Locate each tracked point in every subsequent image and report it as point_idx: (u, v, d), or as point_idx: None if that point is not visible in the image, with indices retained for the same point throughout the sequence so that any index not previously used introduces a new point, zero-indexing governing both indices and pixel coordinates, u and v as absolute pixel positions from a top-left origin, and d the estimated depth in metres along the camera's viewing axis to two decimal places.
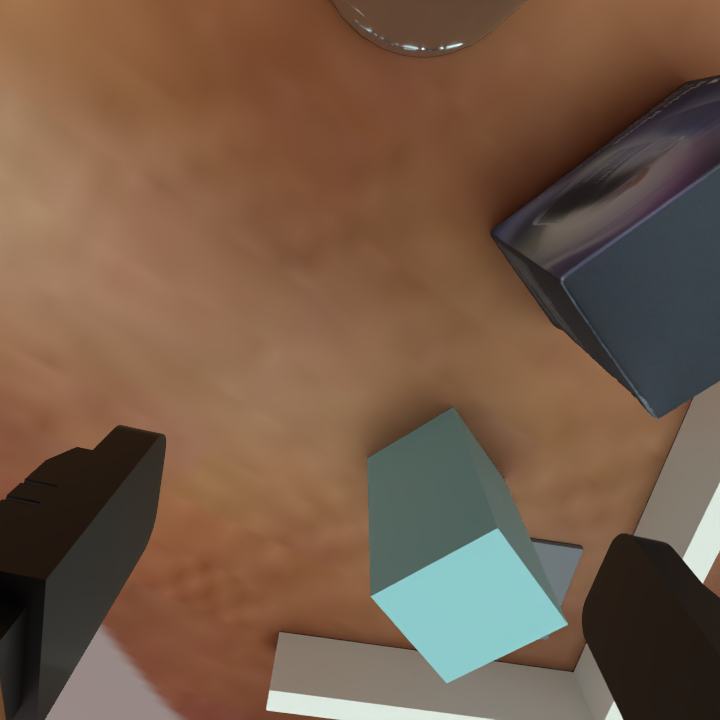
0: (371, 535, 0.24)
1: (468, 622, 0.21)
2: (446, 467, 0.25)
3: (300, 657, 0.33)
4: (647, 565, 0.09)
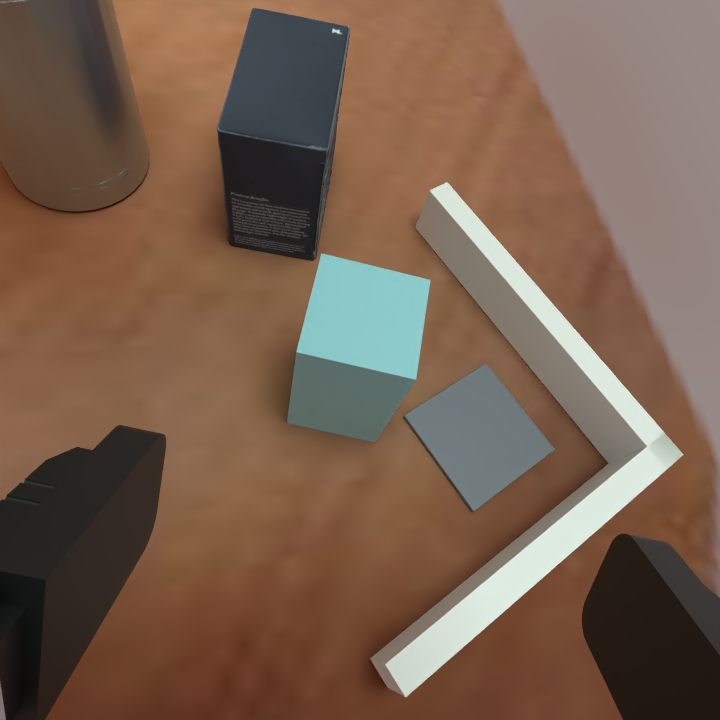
0: None
1: (375, 323, 0.26)
2: None
3: (399, 641, 0.28)
4: (647, 565, 0.09)
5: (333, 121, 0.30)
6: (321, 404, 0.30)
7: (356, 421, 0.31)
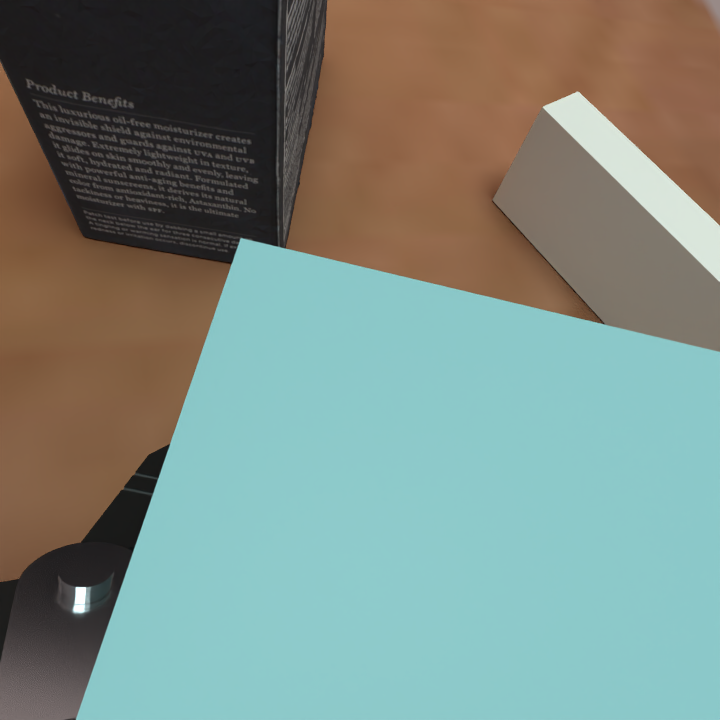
0: None
1: (548, 654, 0.04)
2: None
3: None
4: None
5: None
6: None
7: None
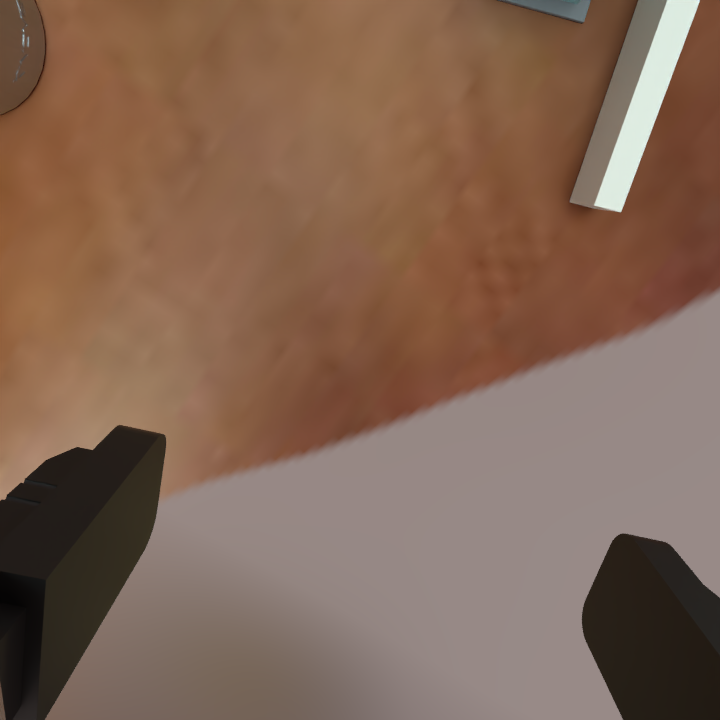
0: None
1: None
2: None
3: (587, 177, 0.33)
4: (647, 565, 0.09)
5: None
6: None
7: None
